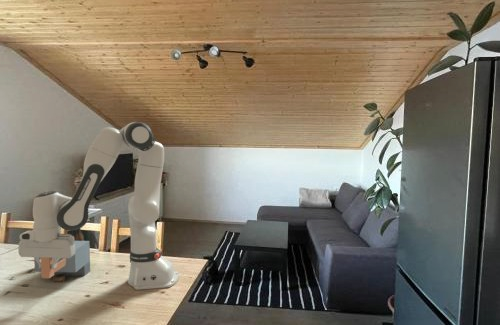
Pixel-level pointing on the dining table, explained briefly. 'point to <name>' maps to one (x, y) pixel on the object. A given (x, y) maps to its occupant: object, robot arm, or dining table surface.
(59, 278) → the brown round piece
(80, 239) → the sauce bottle
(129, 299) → the dining table surface
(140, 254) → the robot arm
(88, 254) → the grey block
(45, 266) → the square headed mallet
